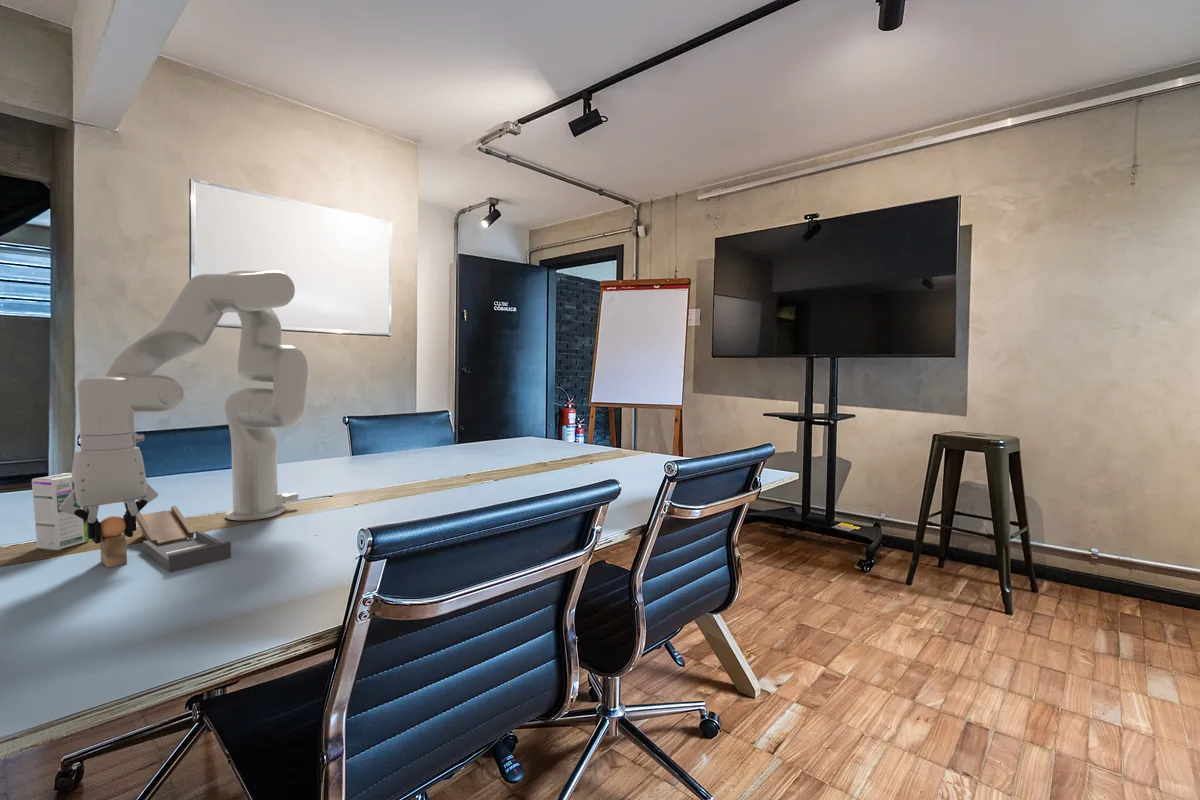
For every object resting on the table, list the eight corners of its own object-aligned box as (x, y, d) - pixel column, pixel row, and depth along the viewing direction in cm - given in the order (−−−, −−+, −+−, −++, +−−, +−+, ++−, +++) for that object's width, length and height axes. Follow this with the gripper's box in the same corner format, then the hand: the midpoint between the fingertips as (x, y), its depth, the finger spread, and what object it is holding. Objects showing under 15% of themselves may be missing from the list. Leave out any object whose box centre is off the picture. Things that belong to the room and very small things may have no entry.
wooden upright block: (120, 557, 105) (119, 530, 105) (127, 563, 102) (125, 536, 102) (101, 561, 103) (99, 534, 102) (107, 567, 100) (106, 539, 100)
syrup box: (57, 550, 108) (54, 479, 107) (35, 548, 109) (31, 477, 108) (90, 541, 114) (86, 473, 112) (68, 539, 115) (64, 471, 114)
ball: (123, 532, 105) (122, 512, 105) (129, 536, 103) (128, 516, 102) (96, 537, 102) (95, 516, 101) (101, 542, 99) (100, 520, 99)
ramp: (175, 529, 122) (174, 505, 122) (194, 540, 115) (193, 515, 115) (134, 537, 117) (133, 511, 116) (151, 549, 109) (150, 522, 109)
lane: (200, 539, 116) (199, 525, 116) (231, 557, 106) (230, 542, 106) (143, 550, 109) (142, 536, 109) (170, 572, 99) (170, 556, 98)
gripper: (158, 436, 110) (161, 524, 111) (41, 445, 96) (46, 545, 98) (170, 440, 105) (173, 532, 107) (49, 450, 92) (54, 555, 93)
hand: (112, 537), depth 102 cm, fingers closed on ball, 4 cm apart
